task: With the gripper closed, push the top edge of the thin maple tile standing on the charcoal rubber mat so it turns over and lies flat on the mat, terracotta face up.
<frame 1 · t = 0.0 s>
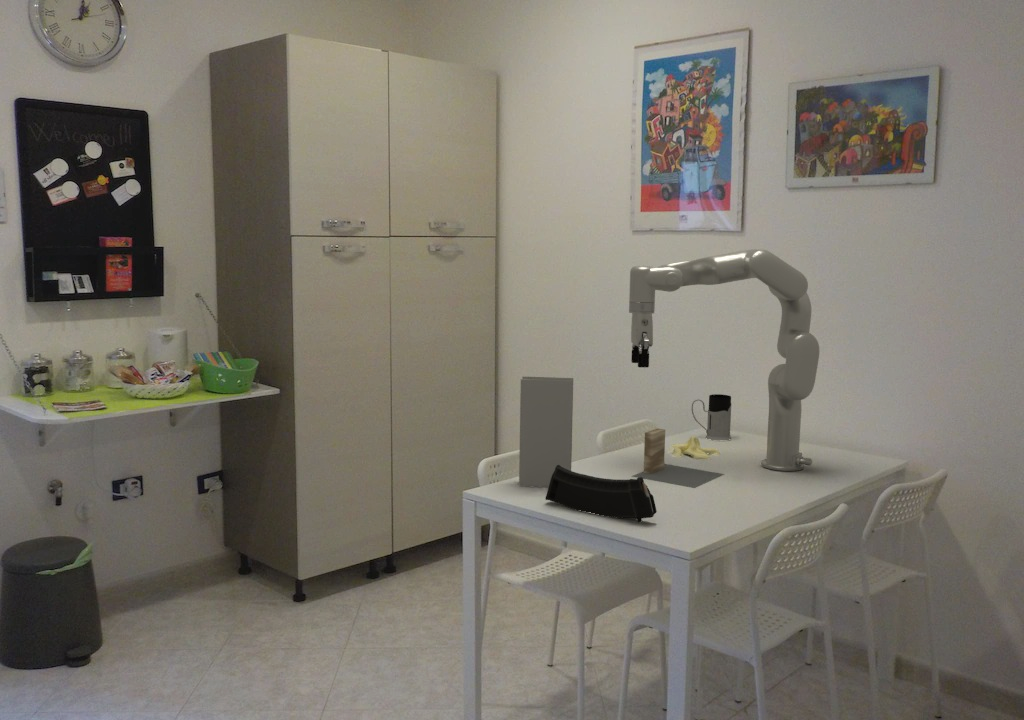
hand: (639, 365, 280), 31 cm above the table, tool pointing down, fingers open, 9 cm apart
cloth: (689, 455, 303), on the table
grey tall flat panel: (545, 485, 262), on the table
mat: (678, 476, 273), on the table
magazine: (599, 514, 235), on the table
glass holder: (710, 438, 327), on the table
tile: (653, 470, 277), resting on mat
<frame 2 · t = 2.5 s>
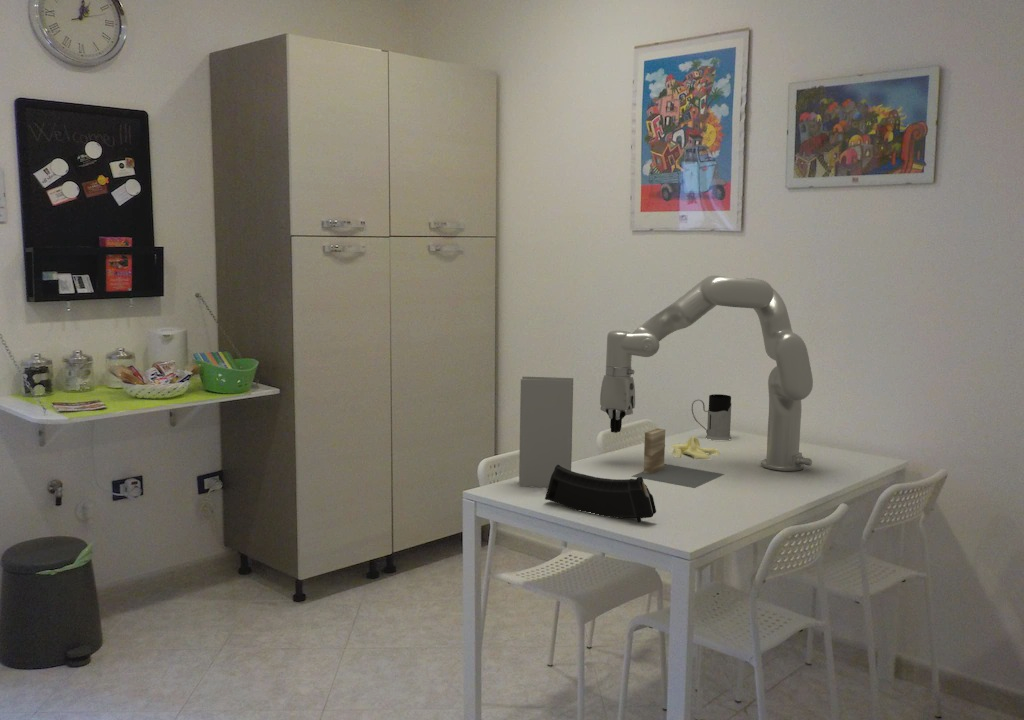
hand: (615, 431, 284), 11 cm above the table, tool pointing down, fingers closed
nothing on the table moved.
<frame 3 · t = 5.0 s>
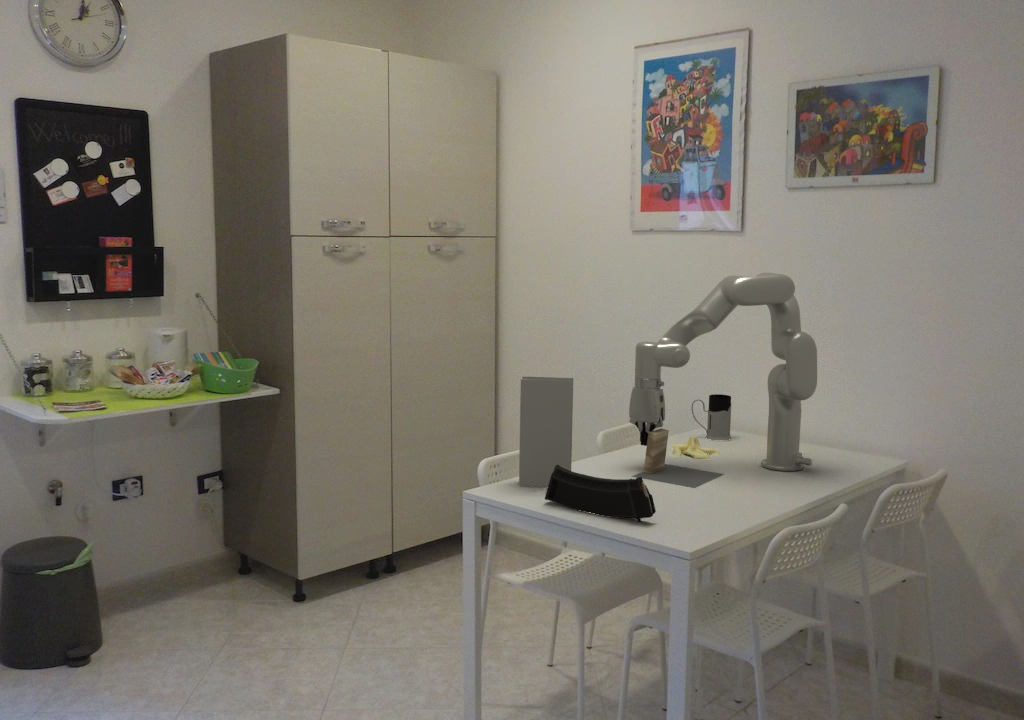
hand: (645, 444, 278), 8 cm above the table, tool pointing down, fingers closed
tile: (653, 470, 277), point 1 cm above the table, tilted 5°, touching mat
everything else where it was.
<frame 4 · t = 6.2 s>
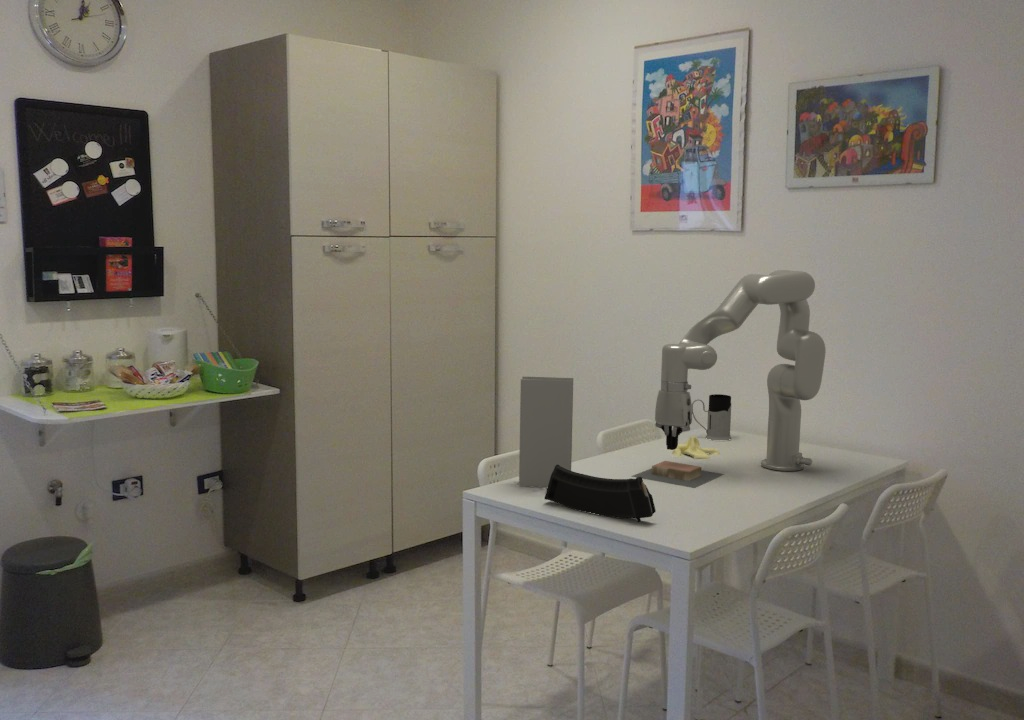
hand: (671, 448, 273), 8 cm above the table, tool pointing down, fingers closed
tile: (658, 467, 276), point 2 cm above the table, tilted 90°, touching mat
everything else where it was.
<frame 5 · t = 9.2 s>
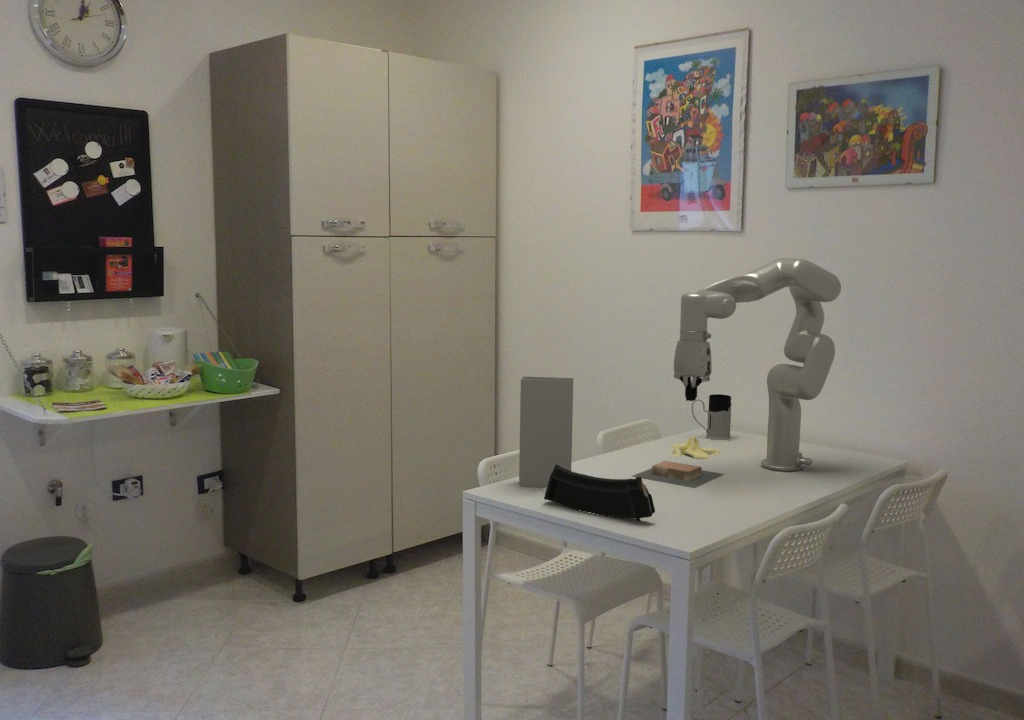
hand: (690, 400, 268), 23 cm above the table, tool pointing down, fingers closed
nothing on the table moved.
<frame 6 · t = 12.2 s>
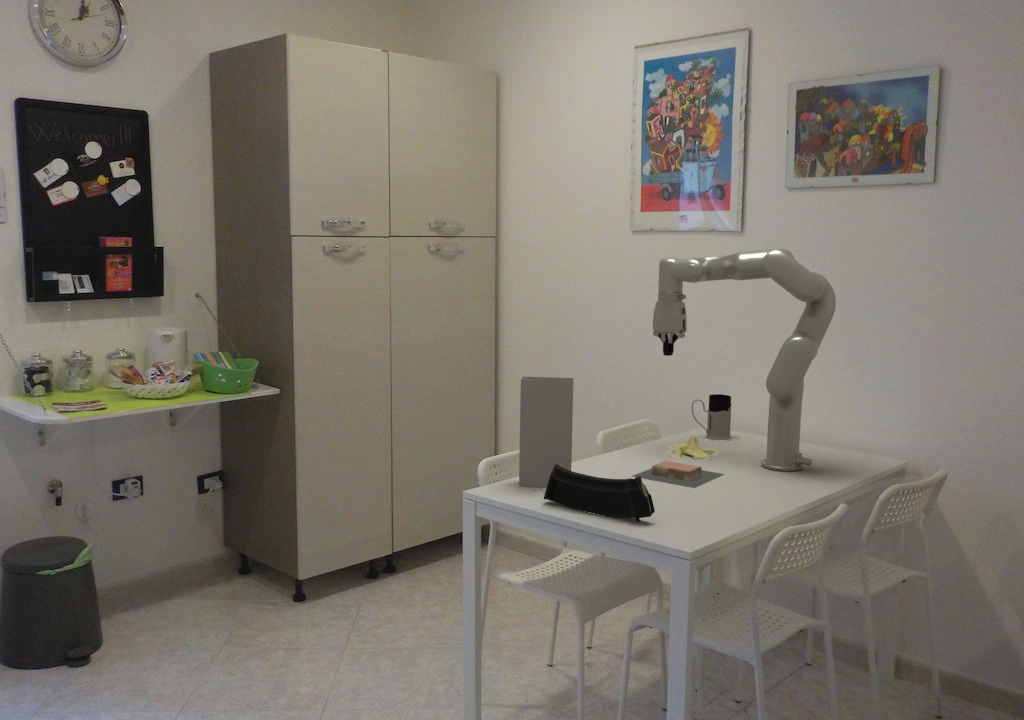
hand: (668, 355, 298), 32 cm above the table, tool pointing down, fingers closed
nothing on the table moved.
at the end: tile tilted 90°; tile touching mat; tile inside the target area (5.6 cm from its centre), point 1.7 cm above the table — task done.
